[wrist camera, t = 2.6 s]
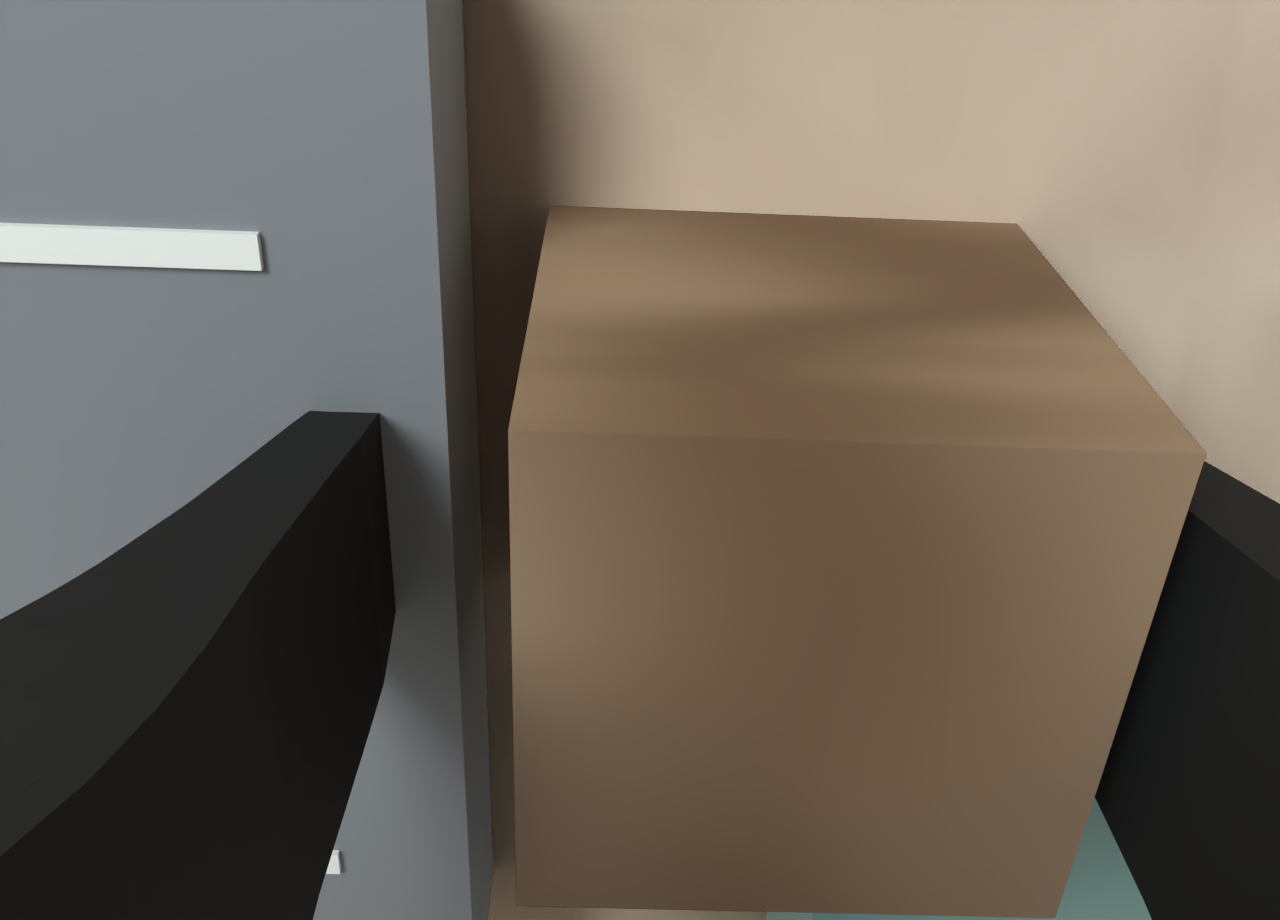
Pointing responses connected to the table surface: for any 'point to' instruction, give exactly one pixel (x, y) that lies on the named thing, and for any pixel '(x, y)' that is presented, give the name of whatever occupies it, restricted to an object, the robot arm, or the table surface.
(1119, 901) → the teal cube
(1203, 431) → the table surface
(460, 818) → the board
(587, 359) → the walnut cube
